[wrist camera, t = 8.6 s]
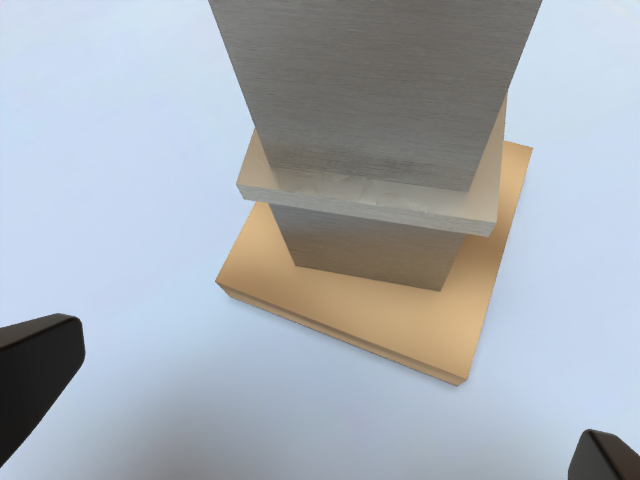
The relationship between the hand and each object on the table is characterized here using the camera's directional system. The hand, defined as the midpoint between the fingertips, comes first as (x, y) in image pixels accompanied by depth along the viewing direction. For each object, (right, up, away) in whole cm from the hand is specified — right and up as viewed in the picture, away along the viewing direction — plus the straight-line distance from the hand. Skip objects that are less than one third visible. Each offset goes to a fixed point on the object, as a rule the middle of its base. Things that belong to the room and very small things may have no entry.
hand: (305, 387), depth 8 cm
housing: (+3, +4, +10) cm, 11 cm away
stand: (+3, +3, +12) cm, 13 cm away
